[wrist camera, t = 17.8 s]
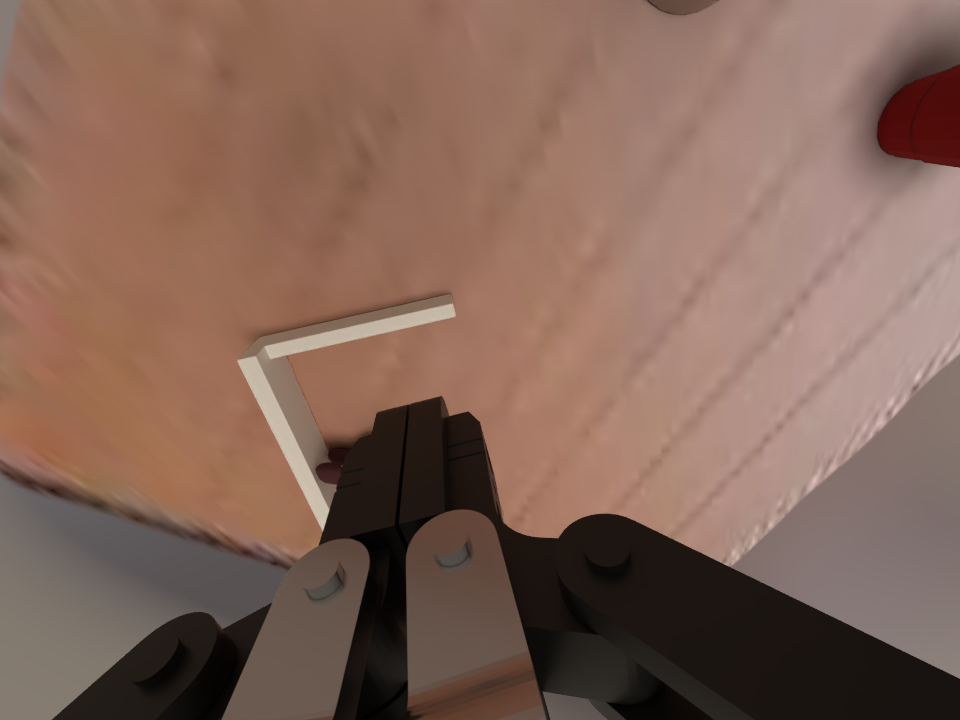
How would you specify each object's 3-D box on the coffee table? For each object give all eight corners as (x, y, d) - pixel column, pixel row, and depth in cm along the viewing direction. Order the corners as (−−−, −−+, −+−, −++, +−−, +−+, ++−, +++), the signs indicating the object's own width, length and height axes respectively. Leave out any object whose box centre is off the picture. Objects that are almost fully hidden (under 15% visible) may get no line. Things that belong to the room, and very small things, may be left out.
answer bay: (450, 293, 38) (454, 310, 33) (502, 513, 50) (510, 548, 45) (259, 337, 37) (236, 360, 33) (357, 548, 49) (350, 586, 45)
